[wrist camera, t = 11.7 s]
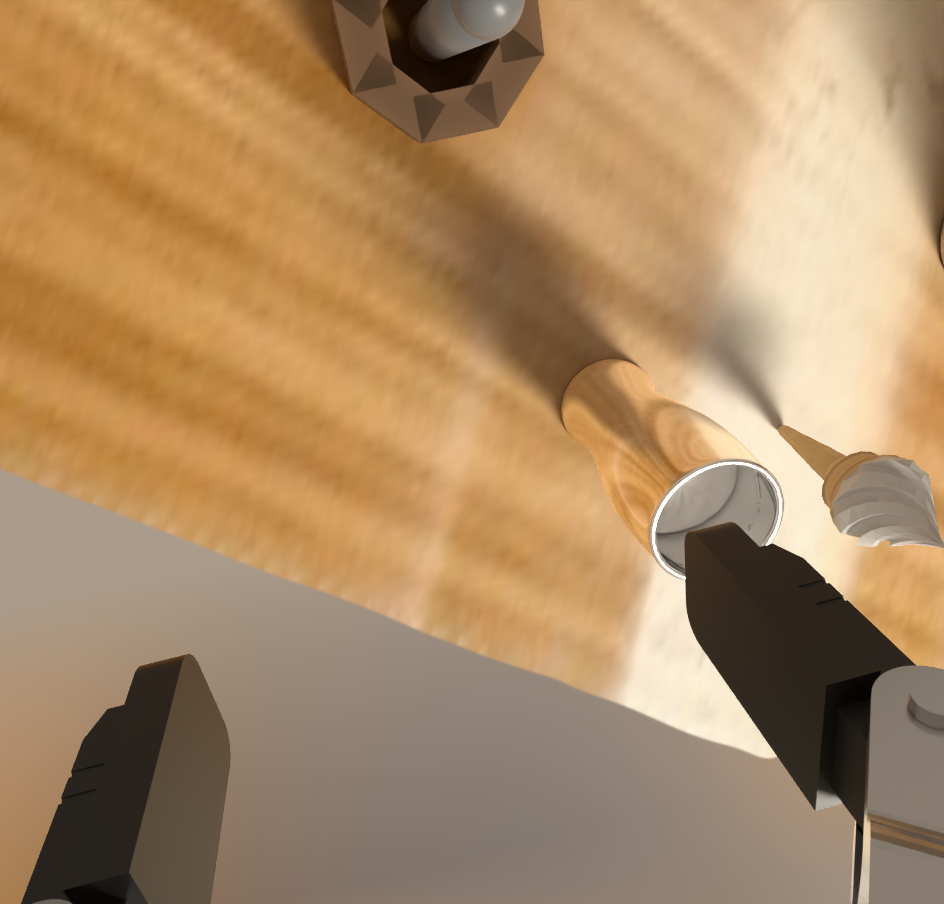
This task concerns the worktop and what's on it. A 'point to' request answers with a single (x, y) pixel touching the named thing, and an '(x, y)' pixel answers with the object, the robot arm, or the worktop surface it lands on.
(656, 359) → the worktop surface
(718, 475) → the beer glass
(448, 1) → the grey rounded rod
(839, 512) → the ice cream cone
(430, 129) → the bead
